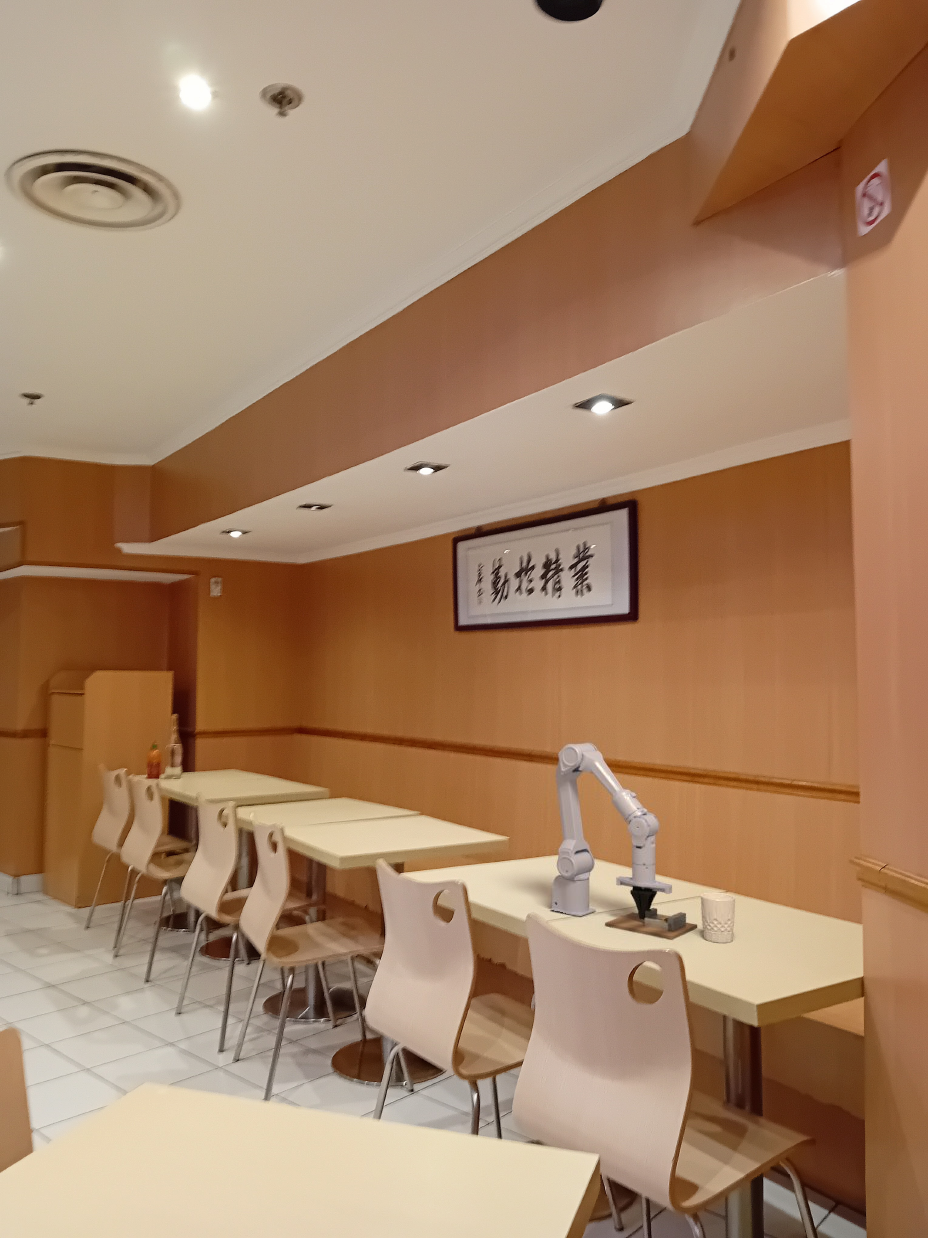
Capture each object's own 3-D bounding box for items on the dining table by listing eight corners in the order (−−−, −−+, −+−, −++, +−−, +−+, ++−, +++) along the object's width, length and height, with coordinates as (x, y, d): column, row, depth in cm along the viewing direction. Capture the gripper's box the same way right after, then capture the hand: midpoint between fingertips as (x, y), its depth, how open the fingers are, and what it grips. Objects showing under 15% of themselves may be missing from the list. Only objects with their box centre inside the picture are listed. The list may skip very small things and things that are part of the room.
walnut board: (605, 926, 224) (605, 922, 224) (632, 915, 235) (632, 912, 235) (671, 940, 213) (671, 936, 213) (697, 928, 224) (697, 924, 224)
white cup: (736, 945, 209) (736, 901, 210) (701, 942, 211) (701, 899, 212) (733, 936, 217) (733, 893, 218) (700, 933, 219) (699, 891, 219)
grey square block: (641, 925, 221) (641, 912, 222) (652, 921, 226) (652, 908, 226) (664, 930, 218) (664, 916, 218) (675, 925, 222) (675, 912, 222)
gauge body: (644, 926, 221) (644, 913, 222) (657, 921, 227) (657, 908, 227) (673, 932, 217) (673, 918, 217) (686, 926, 222) (686, 913, 222)
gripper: (677, 865, 225) (677, 920, 224) (625, 857, 234) (625, 910, 233) (664, 869, 220) (664, 926, 219) (612, 861, 229) (612, 915, 228)
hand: (643, 918), depth 225 cm, fingers closed
